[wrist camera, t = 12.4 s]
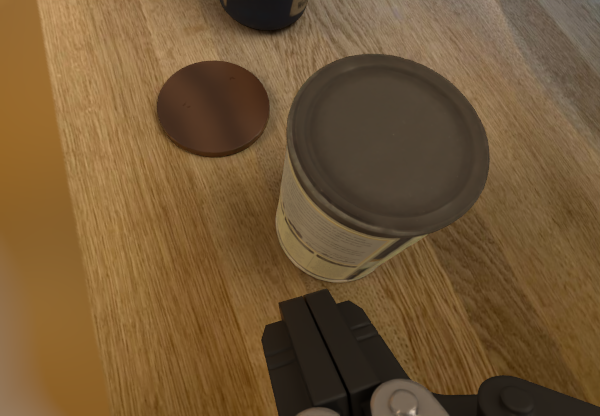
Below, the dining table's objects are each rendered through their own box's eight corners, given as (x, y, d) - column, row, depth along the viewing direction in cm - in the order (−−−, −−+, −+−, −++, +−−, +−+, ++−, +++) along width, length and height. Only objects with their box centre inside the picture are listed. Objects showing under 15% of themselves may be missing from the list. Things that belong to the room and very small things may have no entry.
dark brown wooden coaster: (201, 177, 31) (200, 173, 30) (137, 98, 33) (134, 93, 32) (290, 119, 34) (291, 114, 33) (227, 50, 36) (226, 44, 35)
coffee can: (301, 152, 33) (331, 25, 20) (406, 196, 33) (507, 97, 19) (253, 252, 29) (251, 178, 16) (371, 304, 29) (467, 271, 16)
